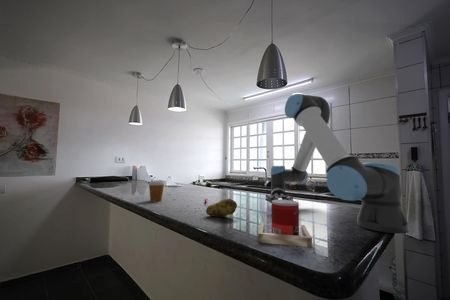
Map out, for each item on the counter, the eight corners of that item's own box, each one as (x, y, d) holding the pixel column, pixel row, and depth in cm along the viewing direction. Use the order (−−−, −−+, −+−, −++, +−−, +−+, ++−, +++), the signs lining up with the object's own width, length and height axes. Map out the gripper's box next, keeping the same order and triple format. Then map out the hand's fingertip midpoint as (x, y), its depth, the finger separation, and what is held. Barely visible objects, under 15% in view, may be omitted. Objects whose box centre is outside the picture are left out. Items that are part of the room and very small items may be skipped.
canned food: (300, 244, 58) (299, 204, 59) (271, 241, 60) (271, 202, 61) (297, 235, 65) (297, 200, 66) (271, 233, 67) (271, 198, 68)
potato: (216, 213, 95) (216, 195, 95) (239, 218, 87) (239, 198, 88) (203, 216, 88) (204, 197, 89) (227, 222, 80) (228, 201, 81)
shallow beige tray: (304, 232, 68) (304, 225, 69) (312, 247, 56) (311, 238, 56) (260, 229, 72) (260, 221, 72) (258, 242, 59) (258, 233, 59)
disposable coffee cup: (147, 200, 128) (148, 180, 129) (163, 199, 131) (164, 180, 132) (147, 202, 119) (148, 181, 120) (164, 202, 122) (165, 181, 123)
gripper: (292, 204, 103) (298, 214, 80) (265, 203, 105) (263, 212, 82) (292, 189, 103) (297, 194, 80) (265, 188, 106) (263, 193, 83)
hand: (280, 203), depth 81 cm, fingers closed
